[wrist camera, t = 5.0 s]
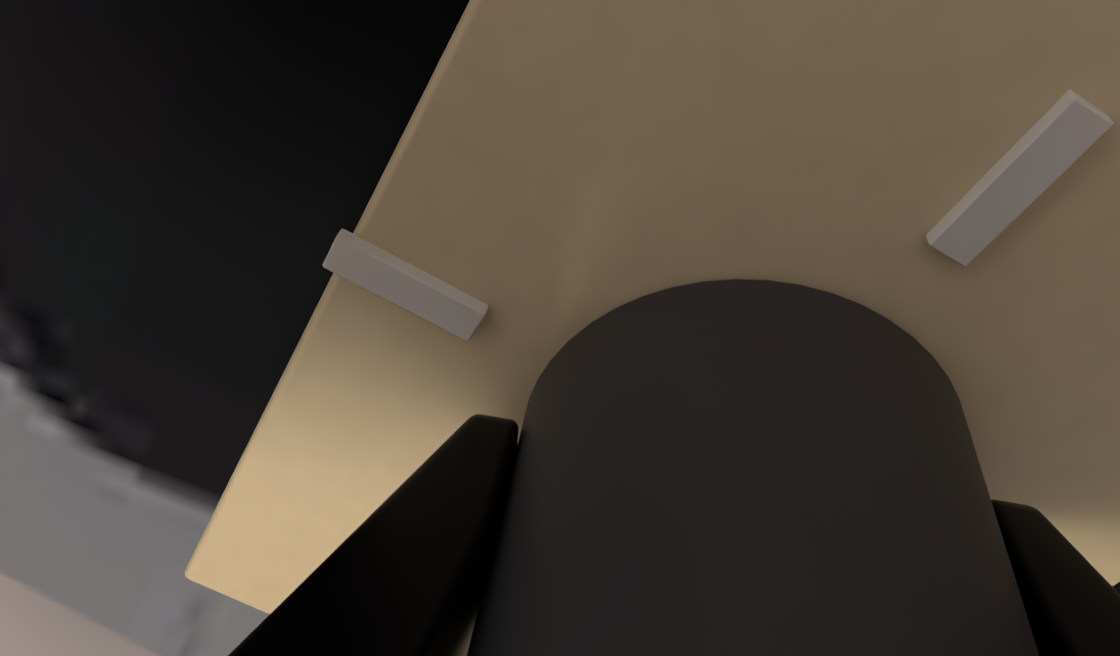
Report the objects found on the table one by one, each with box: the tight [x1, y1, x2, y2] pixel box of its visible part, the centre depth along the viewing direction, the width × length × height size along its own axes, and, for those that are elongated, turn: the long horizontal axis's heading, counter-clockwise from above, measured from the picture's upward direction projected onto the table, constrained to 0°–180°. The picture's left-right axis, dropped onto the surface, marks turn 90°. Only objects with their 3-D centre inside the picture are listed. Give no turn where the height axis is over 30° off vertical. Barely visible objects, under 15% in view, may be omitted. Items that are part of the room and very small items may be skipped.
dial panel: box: [185, 0, 1120, 614], centre depth 10 cm, size 11×8×3 cm
